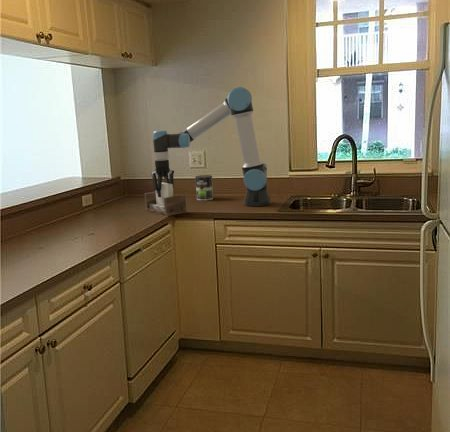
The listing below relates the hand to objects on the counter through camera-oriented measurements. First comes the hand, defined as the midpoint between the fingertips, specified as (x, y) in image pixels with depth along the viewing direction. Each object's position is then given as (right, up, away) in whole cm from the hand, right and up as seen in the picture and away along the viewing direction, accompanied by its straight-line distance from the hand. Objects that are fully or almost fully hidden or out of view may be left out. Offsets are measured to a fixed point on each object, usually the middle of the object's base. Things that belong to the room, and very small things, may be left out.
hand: (164, 202), depth 289 cm
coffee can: (+21, +3, +33) cm, 39 cm away
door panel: (0, -4, +1) cm, 4 cm away
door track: (0, -5, +1) cm, 5 cm away
